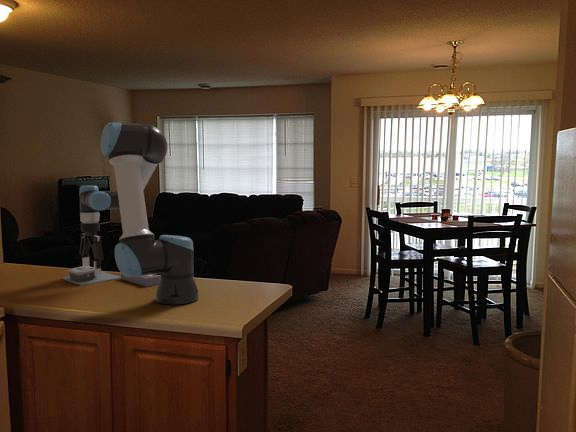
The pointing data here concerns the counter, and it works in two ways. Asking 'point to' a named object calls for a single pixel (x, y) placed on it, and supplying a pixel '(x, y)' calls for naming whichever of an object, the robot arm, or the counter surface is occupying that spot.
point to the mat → (94, 279)
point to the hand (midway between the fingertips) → (91, 274)
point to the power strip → (143, 280)
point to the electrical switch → (82, 273)
